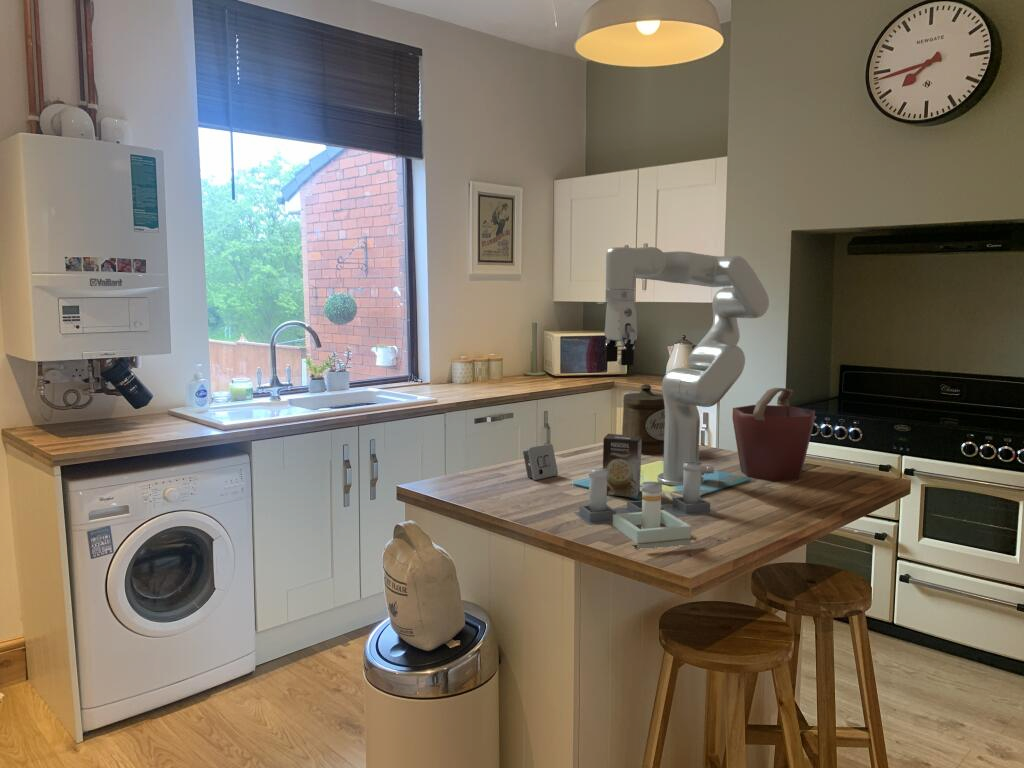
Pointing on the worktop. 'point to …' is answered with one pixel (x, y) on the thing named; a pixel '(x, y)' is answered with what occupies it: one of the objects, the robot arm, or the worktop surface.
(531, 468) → the electrical switch
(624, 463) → the coffee box
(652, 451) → the wooden container
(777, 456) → the bucket
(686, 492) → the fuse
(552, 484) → the worktop surface
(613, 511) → the fuse block
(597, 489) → the fuse
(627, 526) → the tray
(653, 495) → the cylinder
